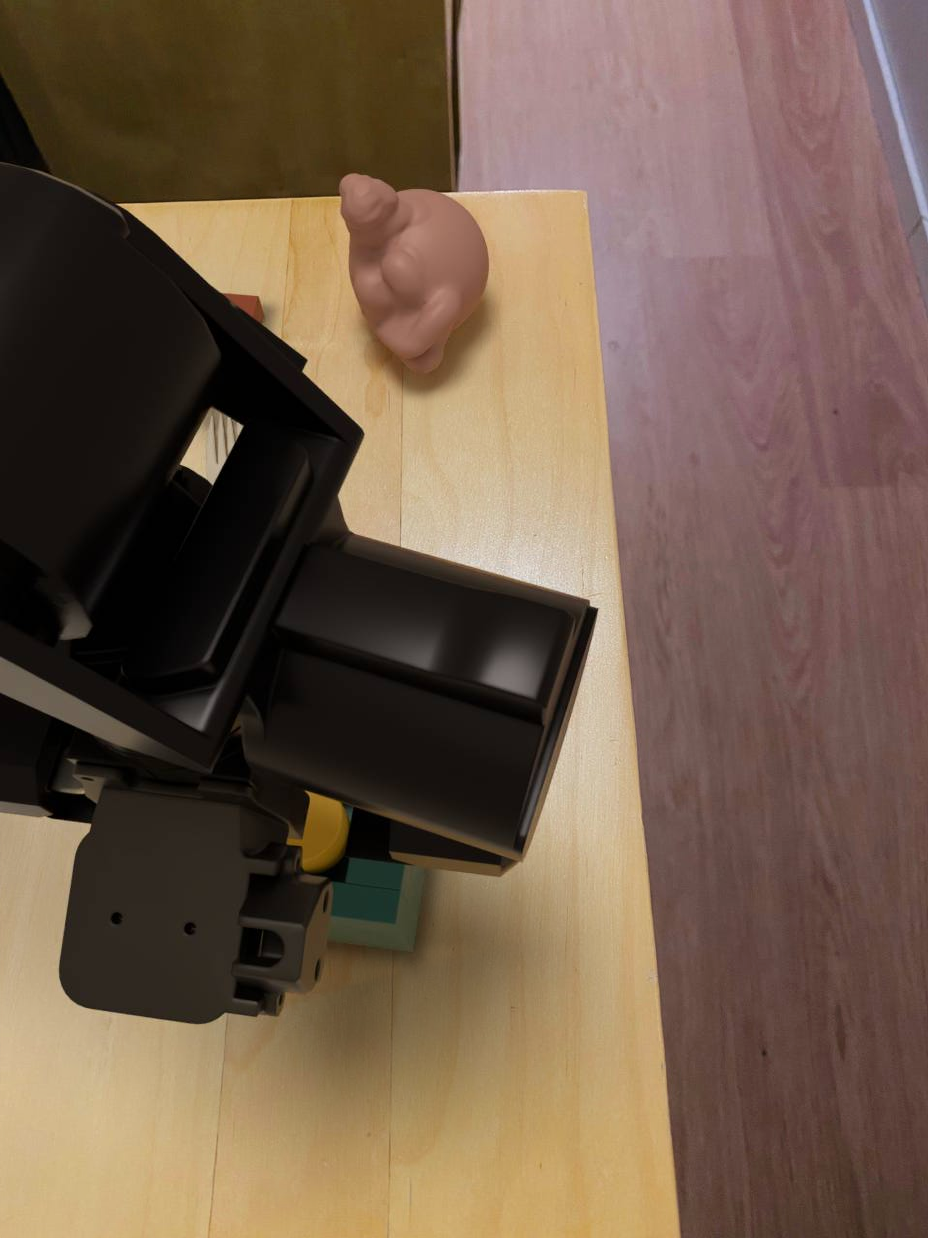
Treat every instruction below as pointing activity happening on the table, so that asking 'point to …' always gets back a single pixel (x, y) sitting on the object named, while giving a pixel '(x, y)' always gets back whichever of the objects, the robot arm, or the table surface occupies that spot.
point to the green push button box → (374, 902)
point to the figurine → (412, 265)
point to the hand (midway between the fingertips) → (290, 805)
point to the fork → (211, 463)
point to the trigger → (323, 834)
